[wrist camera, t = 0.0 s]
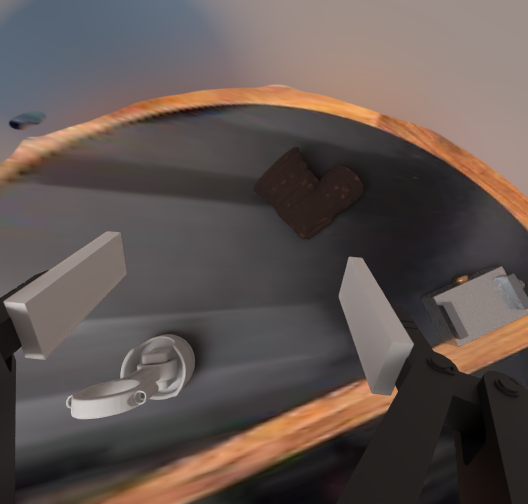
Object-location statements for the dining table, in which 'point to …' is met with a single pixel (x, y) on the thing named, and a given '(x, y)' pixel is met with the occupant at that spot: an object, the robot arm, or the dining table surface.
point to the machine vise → (476, 305)
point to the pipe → (307, 193)
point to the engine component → (139, 379)
